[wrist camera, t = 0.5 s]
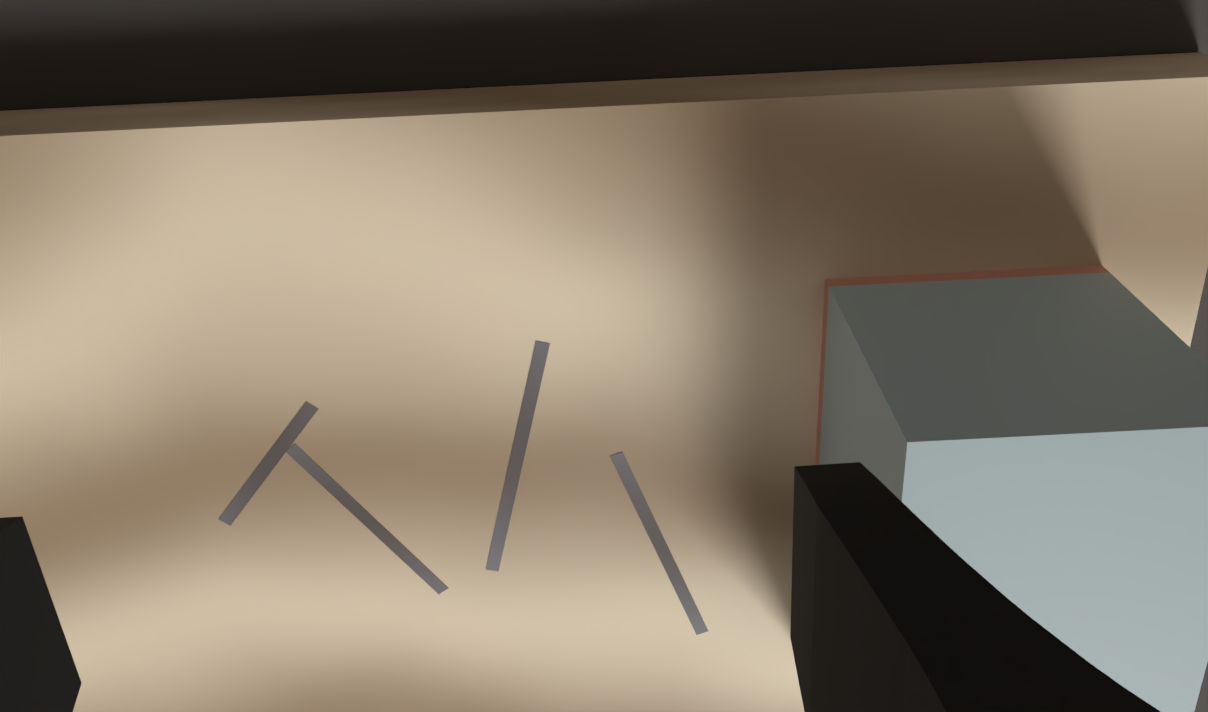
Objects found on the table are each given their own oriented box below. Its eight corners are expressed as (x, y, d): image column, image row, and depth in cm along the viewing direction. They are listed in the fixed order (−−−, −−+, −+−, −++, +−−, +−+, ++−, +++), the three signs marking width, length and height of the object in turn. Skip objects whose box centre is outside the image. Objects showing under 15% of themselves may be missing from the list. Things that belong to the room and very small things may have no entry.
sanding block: (1035, 644, 22) (1153, 863, 18) (805, 656, 22) (865, 880, 18) (1101, 265, 18) (1270, 423, 14) (824, 279, 18) (907, 442, 14)
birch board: (1072, 698, 25) (1100, 751, 24) (-30, 757, 25) (-65, 814, 23) (1200, 52, 18) (1250, 75, 17) (-291, 124, 18) (-358, 153, 17)
